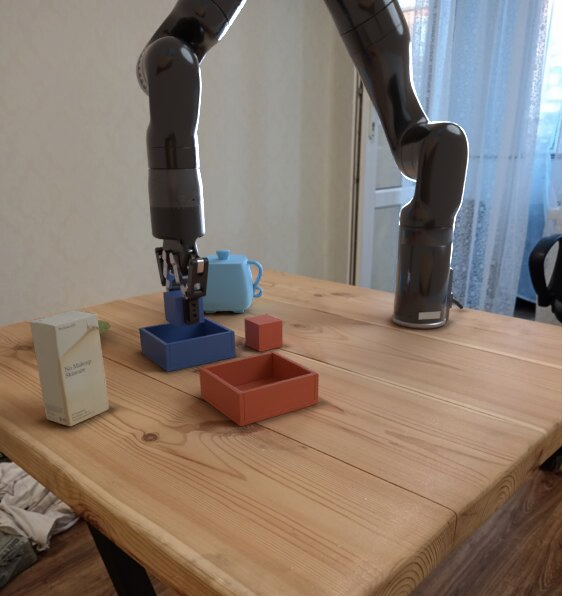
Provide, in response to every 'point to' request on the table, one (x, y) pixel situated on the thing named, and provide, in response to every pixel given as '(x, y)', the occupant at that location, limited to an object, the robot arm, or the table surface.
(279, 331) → the red block
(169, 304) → the blue block
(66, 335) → the cosmetic box
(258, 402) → the red bin
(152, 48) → the robot arm
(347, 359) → the table surface
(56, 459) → the table surface
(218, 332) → the blue bin
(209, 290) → the teapot
